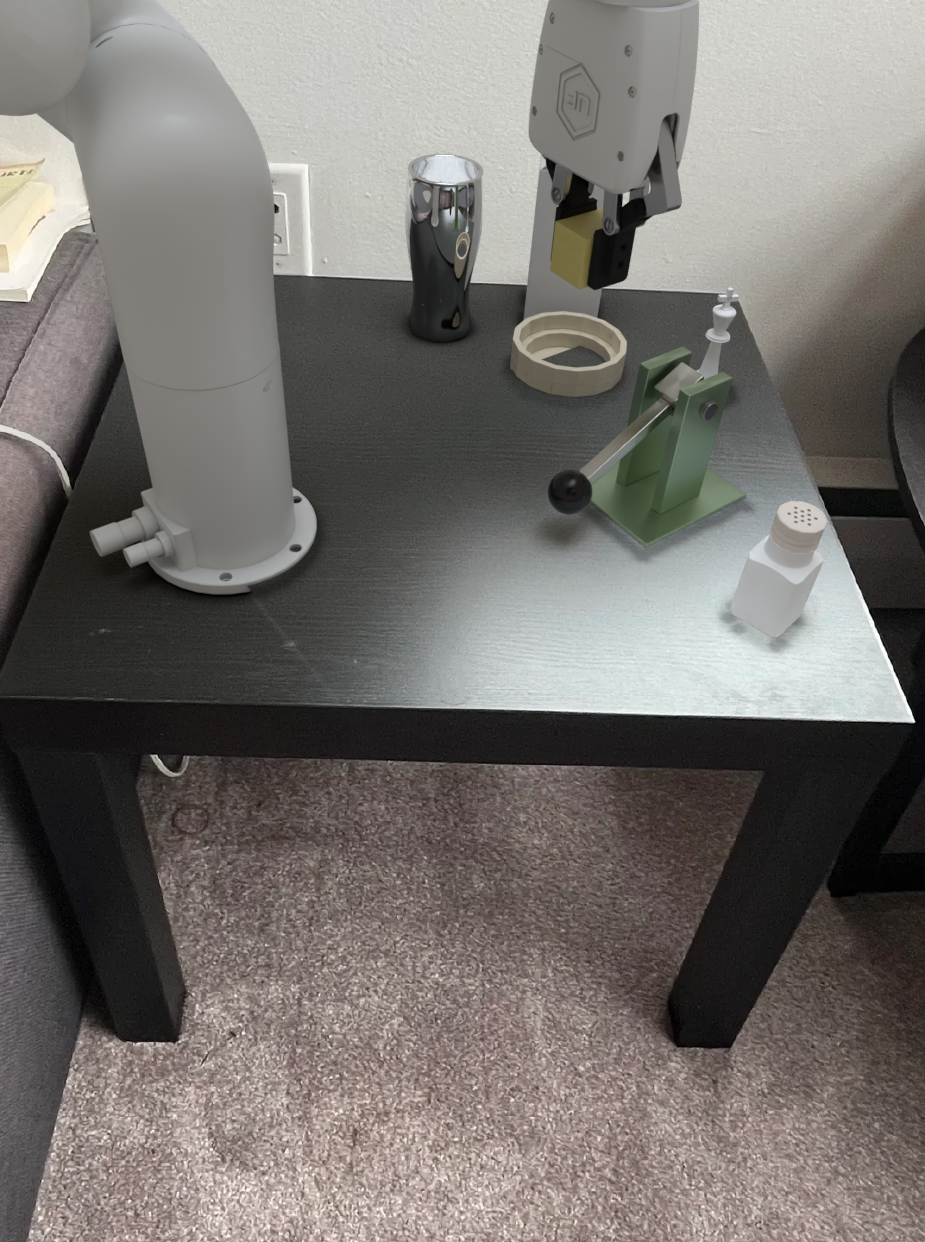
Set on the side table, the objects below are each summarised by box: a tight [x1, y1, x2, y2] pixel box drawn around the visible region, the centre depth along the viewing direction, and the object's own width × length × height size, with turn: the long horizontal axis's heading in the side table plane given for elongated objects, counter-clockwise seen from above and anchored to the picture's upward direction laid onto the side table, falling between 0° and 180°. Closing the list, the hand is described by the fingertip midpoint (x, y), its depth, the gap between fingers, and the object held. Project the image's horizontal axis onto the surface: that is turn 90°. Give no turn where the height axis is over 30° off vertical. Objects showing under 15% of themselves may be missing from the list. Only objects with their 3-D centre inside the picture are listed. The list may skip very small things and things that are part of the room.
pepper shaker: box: [728, 500, 829, 639], centre depth 66 cm, size 4×4×10 cm
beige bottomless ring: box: [509, 311, 628, 398], centre depth 89 cm, size 10×10×4 cm
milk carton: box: [522, 153, 604, 321], centre depth 92 cm, size 7×7×19 cm
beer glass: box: [404, 153, 484, 343], centre depth 90 cm, size 7×7×15 cm
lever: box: [547, 362, 704, 516], centre depth 71 cm, size 14×3×3 cm, turn 127°
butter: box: [550, 208, 603, 289], centre depth 67 cm, size 4×3×4 cm
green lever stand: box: [589, 346, 747, 549], centre depth 74 cm, size 11×9×12 cm
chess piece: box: [695, 286, 740, 379], centre depth 86 cm, size 5×5×10 cm
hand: (588, 269), depth 68 cm, fingers closed on butter, 3 cm apart
